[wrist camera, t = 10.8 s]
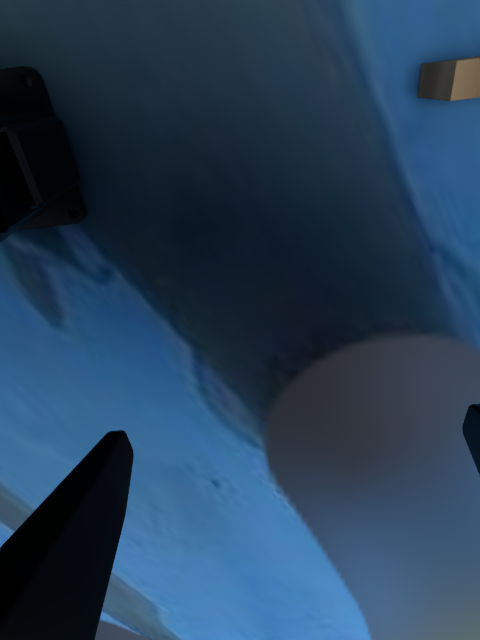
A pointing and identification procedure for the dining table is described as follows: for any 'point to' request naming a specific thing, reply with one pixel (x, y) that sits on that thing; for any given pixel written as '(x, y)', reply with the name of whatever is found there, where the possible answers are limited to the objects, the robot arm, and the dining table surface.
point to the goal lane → (450, 79)
